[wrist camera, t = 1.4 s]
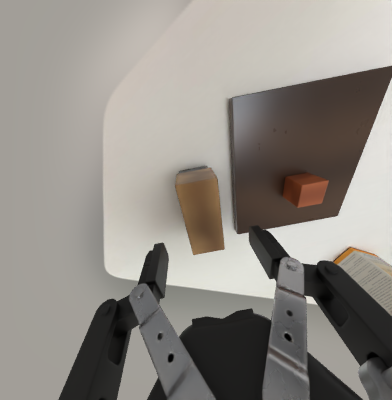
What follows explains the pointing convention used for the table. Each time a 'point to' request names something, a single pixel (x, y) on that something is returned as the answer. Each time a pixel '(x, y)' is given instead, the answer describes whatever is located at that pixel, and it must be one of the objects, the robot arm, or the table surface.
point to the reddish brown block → (304, 189)
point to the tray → (300, 144)
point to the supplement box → (369, 275)
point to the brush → (201, 208)
